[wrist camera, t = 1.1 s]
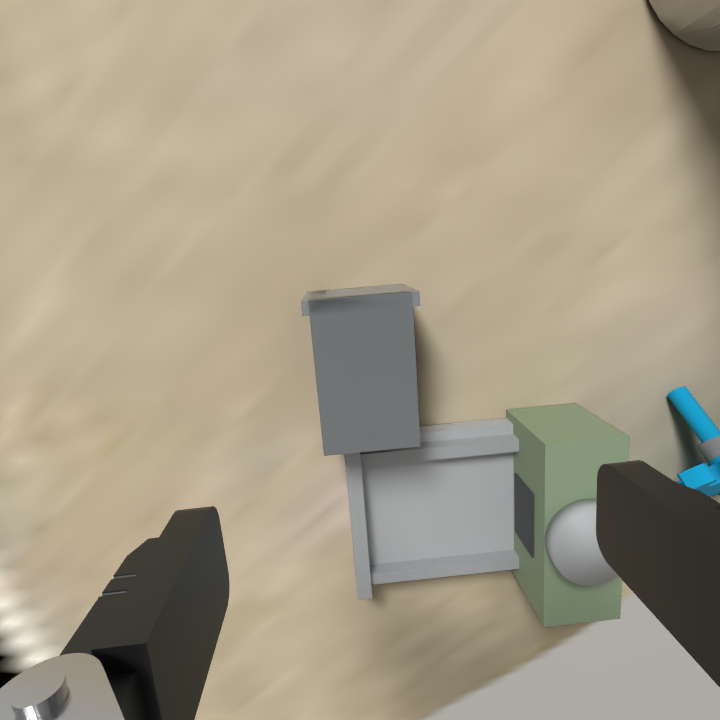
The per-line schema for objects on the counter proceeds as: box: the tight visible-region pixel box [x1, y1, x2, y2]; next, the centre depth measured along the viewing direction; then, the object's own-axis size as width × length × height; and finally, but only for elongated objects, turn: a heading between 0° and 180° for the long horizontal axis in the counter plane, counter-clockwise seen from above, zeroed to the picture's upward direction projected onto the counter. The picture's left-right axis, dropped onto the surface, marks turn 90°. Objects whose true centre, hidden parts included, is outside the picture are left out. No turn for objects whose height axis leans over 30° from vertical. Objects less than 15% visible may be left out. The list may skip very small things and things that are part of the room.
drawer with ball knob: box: [345, 403, 629, 627], centre depth 25 cm, size 10×13×6 cm
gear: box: [667, 386, 720, 497], centre depth 25 cm, size 11×6×10 cm
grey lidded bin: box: [301, 284, 420, 456], centre depth 23 cm, size 7×5×5 cm
